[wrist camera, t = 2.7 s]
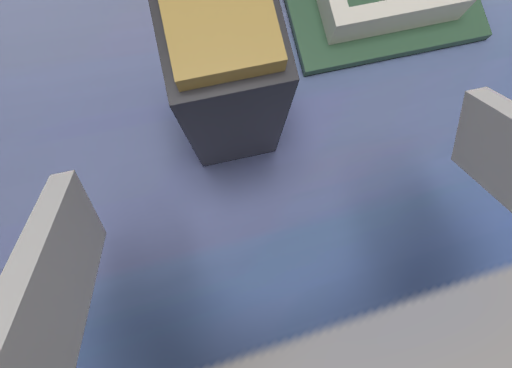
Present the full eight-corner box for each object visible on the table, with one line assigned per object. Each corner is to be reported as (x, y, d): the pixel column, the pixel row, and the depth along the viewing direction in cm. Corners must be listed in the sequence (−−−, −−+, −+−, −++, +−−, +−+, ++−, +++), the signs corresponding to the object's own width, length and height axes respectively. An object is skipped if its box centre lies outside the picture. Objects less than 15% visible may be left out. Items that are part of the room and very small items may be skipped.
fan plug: (202, 166, 22) (164, 96, 12) (185, 84, 23) (134, -52, 12) (275, 150, 22) (303, 68, 12) (256, 70, 23) (265, -76, 13)
